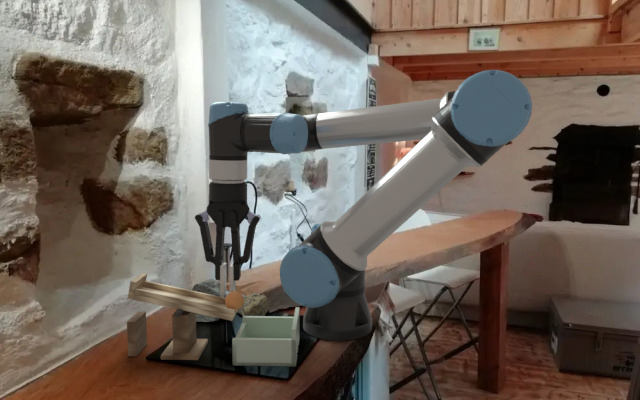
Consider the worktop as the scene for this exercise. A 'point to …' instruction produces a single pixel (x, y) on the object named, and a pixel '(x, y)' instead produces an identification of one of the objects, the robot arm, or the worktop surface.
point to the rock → (254, 305)
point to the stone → (208, 288)
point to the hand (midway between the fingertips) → (227, 295)
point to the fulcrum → (179, 347)
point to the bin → (267, 341)
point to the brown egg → (234, 300)
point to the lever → (179, 298)
